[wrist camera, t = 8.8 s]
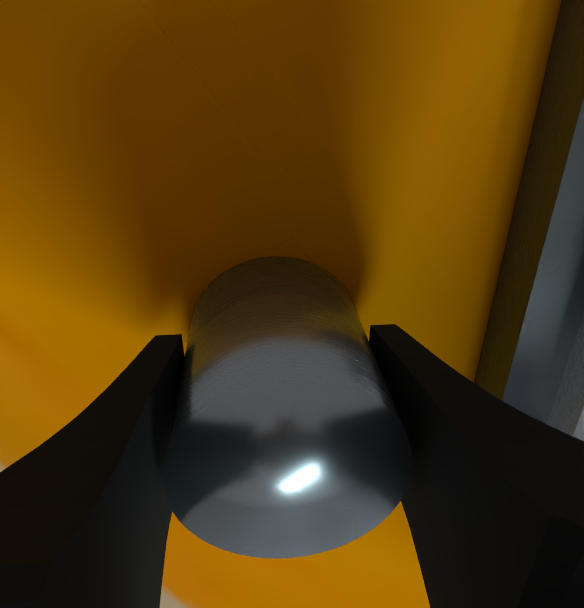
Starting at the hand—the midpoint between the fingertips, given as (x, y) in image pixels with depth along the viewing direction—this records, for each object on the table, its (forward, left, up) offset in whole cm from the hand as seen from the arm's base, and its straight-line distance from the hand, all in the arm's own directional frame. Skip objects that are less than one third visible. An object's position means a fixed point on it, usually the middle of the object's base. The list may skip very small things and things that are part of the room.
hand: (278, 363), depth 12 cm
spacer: (0, 0, -1) cm, 1 cm away
